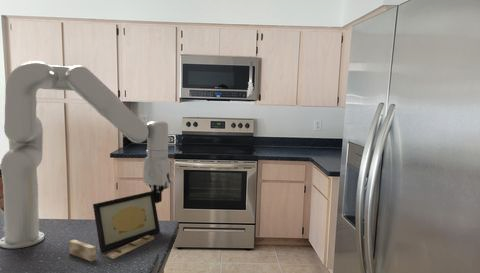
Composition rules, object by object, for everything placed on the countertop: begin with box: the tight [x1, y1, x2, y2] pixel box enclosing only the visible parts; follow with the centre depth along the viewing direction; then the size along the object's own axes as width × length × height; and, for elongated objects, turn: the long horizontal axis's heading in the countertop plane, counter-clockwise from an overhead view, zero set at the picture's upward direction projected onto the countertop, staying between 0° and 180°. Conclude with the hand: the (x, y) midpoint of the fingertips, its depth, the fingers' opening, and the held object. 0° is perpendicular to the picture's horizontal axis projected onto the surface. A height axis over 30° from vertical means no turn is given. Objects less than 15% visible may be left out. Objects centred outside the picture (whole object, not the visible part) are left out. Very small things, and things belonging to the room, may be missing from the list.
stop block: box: [69, 239, 97, 262], centre depth 103 cm, size 10×2×4 cm, turn 62°
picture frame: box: [92, 190, 161, 252], centre depth 118 cm, size 23×9×15 cm, turn 143°
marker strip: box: [105, 235, 155, 260], centre depth 111 cm, size 3×18×1 cm, turn 152°
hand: (157, 201), depth 128 cm, fingers closed
